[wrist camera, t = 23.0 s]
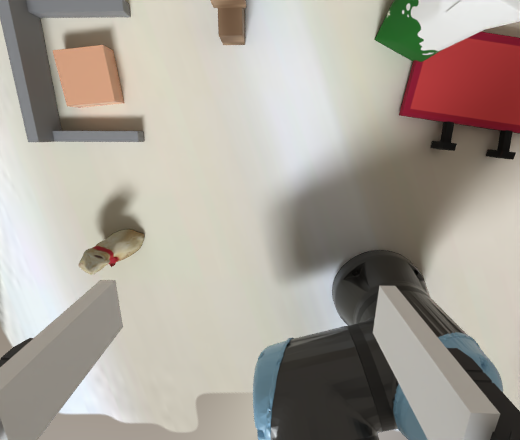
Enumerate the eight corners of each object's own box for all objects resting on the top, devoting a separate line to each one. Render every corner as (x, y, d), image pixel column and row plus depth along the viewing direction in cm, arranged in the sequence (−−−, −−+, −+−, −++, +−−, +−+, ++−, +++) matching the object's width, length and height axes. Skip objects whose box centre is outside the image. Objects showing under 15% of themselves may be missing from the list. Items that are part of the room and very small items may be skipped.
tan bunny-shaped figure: (98, 226, 49) (56, 249, 39) (144, 229, 48) (114, 253, 39) (101, 256, 50) (62, 285, 41) (146, 259, 50) (117, 289, 40)
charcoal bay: (129, 4, 39) (109, -14, 34) (144, 141, 44) (129, 142, 39) (26, 5, 39) (-7, -13, 34) (54, 141, 44) (28, 142, 40)
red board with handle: (586, 171, 43) (638, 60, 39) (607, 173, 40) (665, 55, 36) (390, 141, 43) (420, 27, 38) (398, 142, 40) (432, 19, 36)
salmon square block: (114, 51, 41) (102, 44, 38) (125, 103, 43) (114, 101, 40) (67, 56, 41) (52, 50, 38) (80, 107, 43) (67, 106, 40)
